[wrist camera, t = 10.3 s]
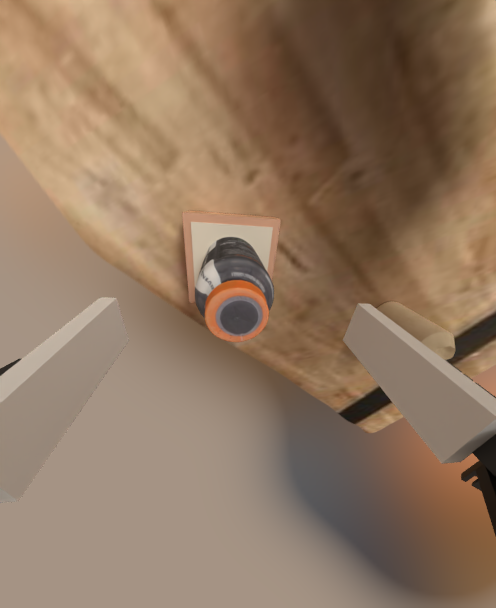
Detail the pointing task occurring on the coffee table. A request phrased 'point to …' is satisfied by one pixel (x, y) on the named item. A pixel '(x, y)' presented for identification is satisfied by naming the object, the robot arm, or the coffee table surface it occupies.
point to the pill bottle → (234, 290)
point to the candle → (420, 328)
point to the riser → (214, 226)
